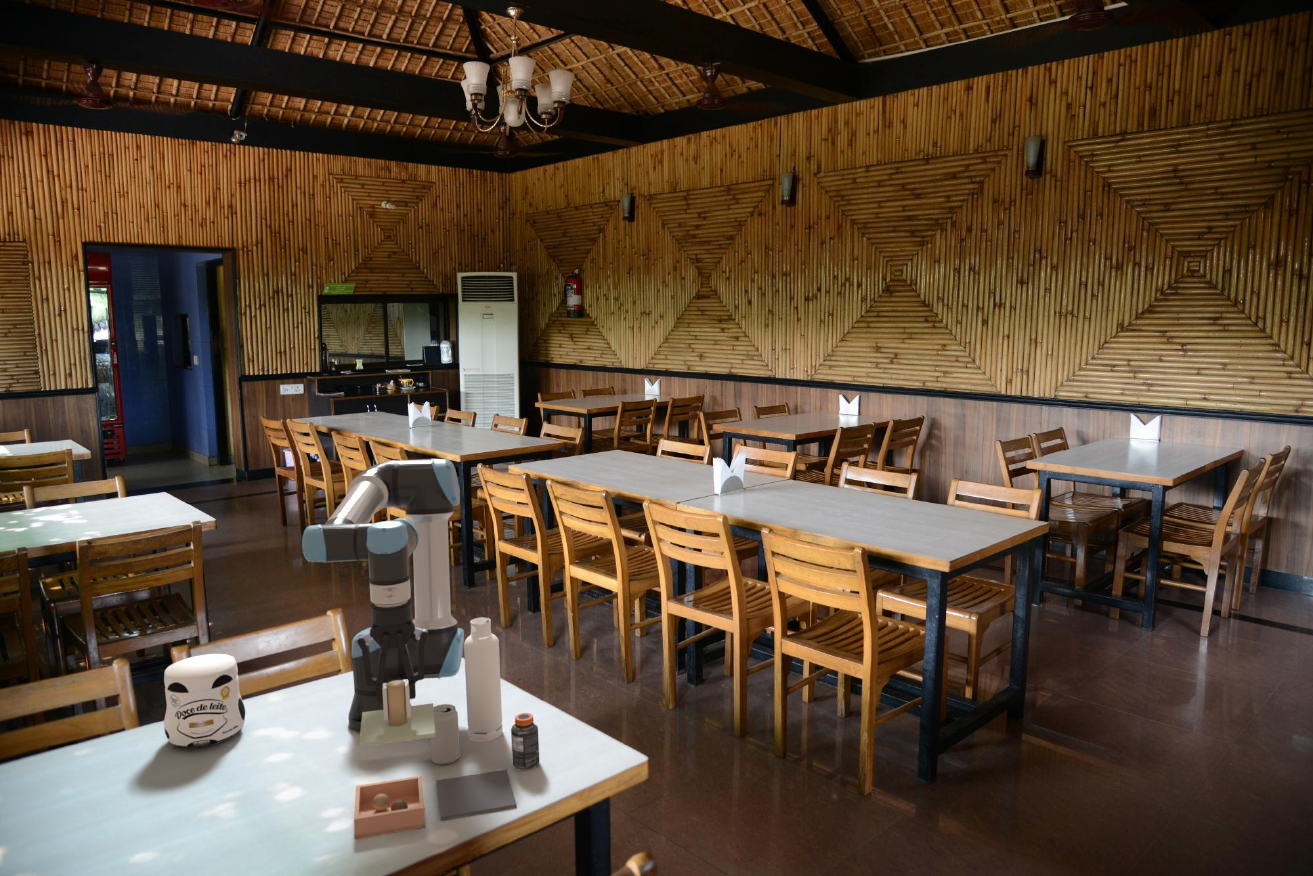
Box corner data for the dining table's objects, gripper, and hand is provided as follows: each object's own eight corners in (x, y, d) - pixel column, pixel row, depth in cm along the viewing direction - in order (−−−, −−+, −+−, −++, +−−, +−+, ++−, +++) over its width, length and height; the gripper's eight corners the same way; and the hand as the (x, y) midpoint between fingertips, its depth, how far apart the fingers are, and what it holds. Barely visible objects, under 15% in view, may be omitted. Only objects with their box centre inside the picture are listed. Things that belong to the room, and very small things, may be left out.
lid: (362, 716, 180) (360, 674, 179) (433, 706, 184) (431, 666, 183) (359, 747, 167) (356, 703, 166) (435, 736, 171) (433, 693, 170)
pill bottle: (538, 756, 200) (536, 708, 199) (540, 769, 194) (538, 720, 193) (511, 759, 199) (509, 711, 197) (513, 772, 193) (511, 723, 192)
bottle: (508, 735, 211) (503, 622, 207) (476, 744, 206) (471, 629, 203) (494, 723, 217) (489, 613, 214) (462, 732, 213) (457, 619, 209)
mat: (436, 783, 189) (436, 780, 189) (506, 771, 193) (506, 769, 193) (440, 820, 175) (440, 817, 175) (516, 807, 179) (516, 804, 179)
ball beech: (373, 806, 179) (372, 792, 179) (389, 804, 180) (388, 789, 180) (373, 815, 176) (372, 800, 176) (389, 812, 177) (388, 797, 177)
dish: (357, 804, 181) (356, 786, 181) (422, 793, 185) (421, 775, 184) (355, 839, 169) (353, 819, 168) (425, 827, 173) (424, 807, 172)
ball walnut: (391, 812, 177) (390, 797, 176) (407, 810, 178) (407, 795, 177) (391, 821, 174) (390, 806, 173) (408, 818, 175) (407, 803, 174)
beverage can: (452, 767, 196) (450, 716, 194) (425, 765, 197) (423, 714, 195) (464, 754, 202) (462, 704, 200) (438, 751, 203) (435, 702, 202)
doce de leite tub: (192, 761, 201) (186, 685, 198) (150, 743, 210) (143, 670, 207) (261, 731, 215) (256, 660, 213) (219, 715, 224) (213, 647, 222)
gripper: (344, 611, 166) (352, 729, 170) (435, 603, 171) (441, 718, 174) (347, 600, 174) (354, 713, 177) (434, 591, 178) (439, 702, 181)
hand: (397, 715), depth 175 cm, fingers closed on lid, 4 cm apart
